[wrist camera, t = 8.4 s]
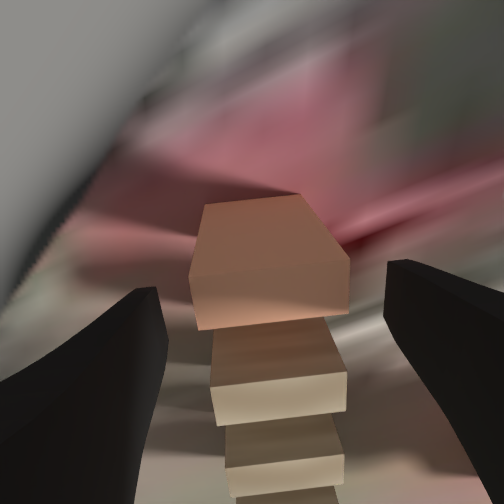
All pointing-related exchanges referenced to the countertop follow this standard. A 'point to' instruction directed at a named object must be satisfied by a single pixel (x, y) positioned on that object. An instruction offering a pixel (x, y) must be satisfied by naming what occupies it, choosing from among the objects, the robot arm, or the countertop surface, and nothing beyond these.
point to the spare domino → (266, 264)
